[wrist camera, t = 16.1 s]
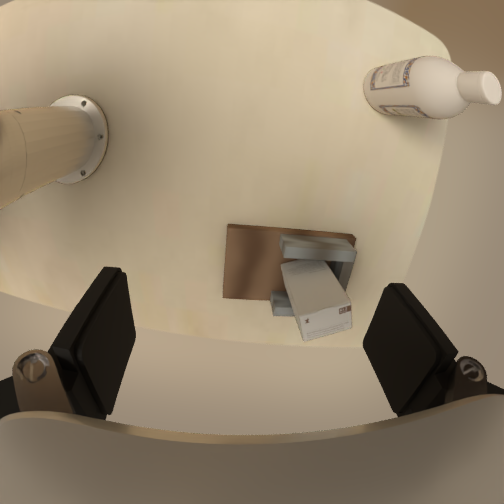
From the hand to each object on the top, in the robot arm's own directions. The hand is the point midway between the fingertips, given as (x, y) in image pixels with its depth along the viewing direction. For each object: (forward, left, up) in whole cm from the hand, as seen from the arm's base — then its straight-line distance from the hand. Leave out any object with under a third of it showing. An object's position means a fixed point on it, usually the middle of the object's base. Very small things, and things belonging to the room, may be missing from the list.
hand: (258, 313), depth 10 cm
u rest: (+8, -13, -28) cm, 32 cm away
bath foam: (+18, +14, -28) cm, 36 cm away
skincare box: (+10, -13, -27) cm, 32 cm away
